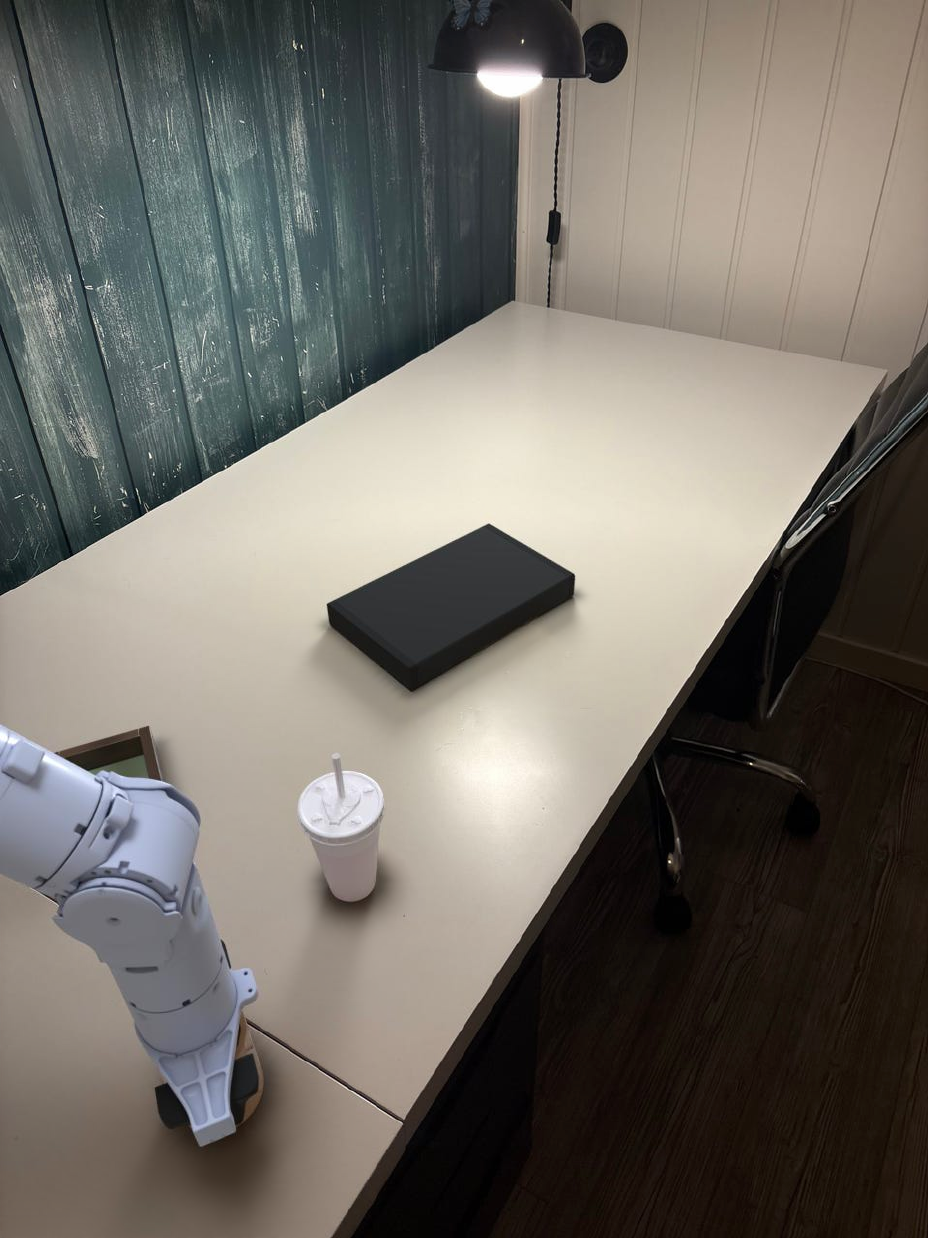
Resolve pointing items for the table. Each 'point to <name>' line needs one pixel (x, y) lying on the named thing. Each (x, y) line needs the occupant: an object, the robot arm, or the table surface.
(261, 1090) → the paper cup
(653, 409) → the table surface
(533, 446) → the table surface
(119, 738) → the cup holder
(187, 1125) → the robot arm
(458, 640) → the external hard drive
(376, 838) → the smoothie
